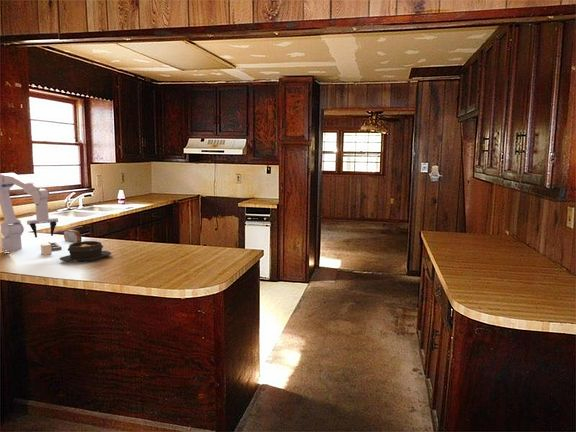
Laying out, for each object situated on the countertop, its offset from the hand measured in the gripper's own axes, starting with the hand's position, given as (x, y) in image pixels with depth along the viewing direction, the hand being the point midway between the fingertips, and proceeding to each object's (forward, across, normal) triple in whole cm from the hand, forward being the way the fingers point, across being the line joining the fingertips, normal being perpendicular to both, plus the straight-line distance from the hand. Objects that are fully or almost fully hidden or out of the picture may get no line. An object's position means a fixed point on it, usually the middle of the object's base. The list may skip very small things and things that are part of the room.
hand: (44, 236), depth 235 cm
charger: (+10, 0, -4) cm, 11 cm away
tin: (+11, +19, +23) cm, 31 cm away
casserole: (+10, +15, -24) cm, 30 cm away
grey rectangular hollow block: (+10, +5, +9) cm, 14 cm away
